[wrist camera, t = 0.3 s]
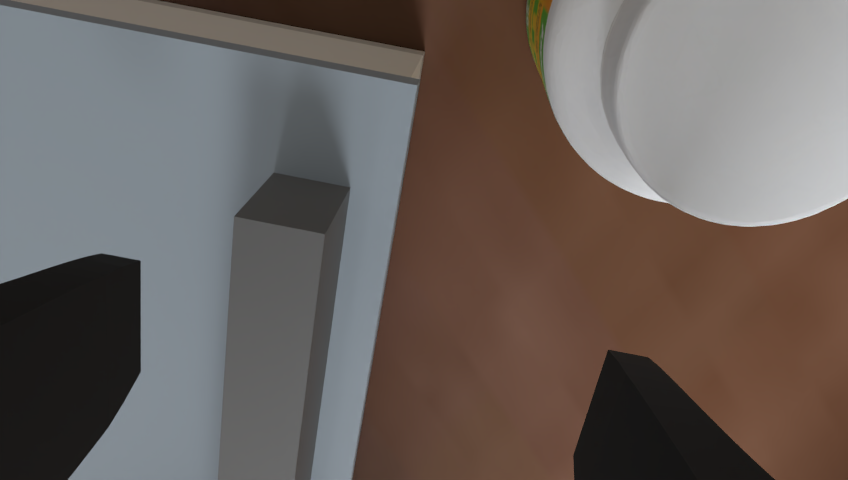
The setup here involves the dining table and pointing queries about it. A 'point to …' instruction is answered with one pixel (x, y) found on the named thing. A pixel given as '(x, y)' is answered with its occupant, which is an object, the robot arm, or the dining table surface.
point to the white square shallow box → (250, 33)
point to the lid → (210, 231)
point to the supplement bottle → (703, 100)
